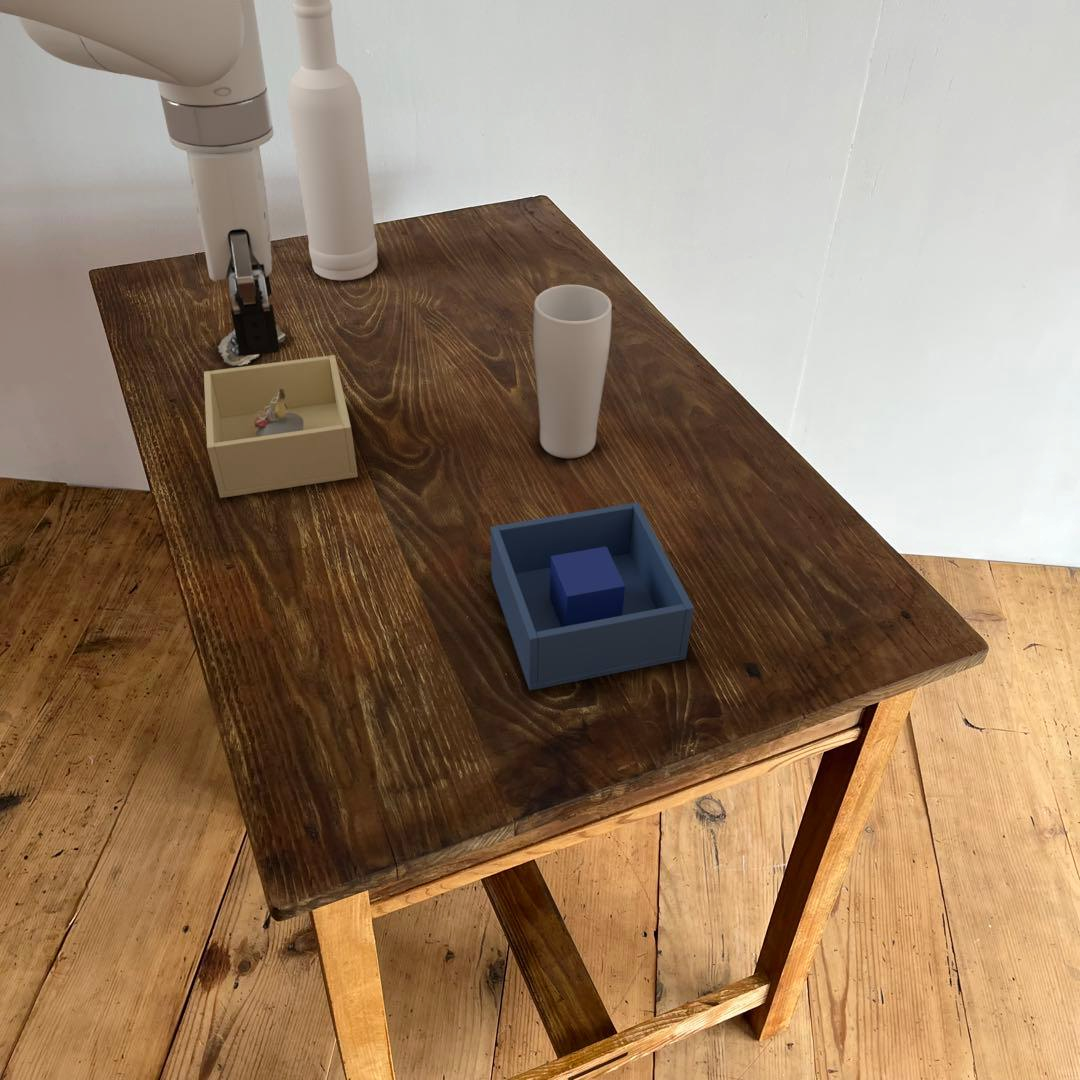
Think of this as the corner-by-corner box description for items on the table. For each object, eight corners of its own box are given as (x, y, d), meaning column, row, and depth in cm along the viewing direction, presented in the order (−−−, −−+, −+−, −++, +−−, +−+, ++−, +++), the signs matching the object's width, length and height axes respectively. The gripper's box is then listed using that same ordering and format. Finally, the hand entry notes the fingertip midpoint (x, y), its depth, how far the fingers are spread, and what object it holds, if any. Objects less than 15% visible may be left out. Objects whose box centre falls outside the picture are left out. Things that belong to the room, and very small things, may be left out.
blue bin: (529, 691, 74) (529, 639, 70) (491, 578, 83) (490, 526, 79) (685, 659, 76) (694, 607, 73) (633, 552, 85) (638, 501, 81)
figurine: (305, 460, 93) (295, 406, 89) (255, 462, 93) (243, 408, 89) (308, 426, 97) (299, 373, 93) (261, 428, 96) (250, 375, 92)
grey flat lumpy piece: (296, 332, 111) (293, 317, 109) (263, 371, 105) (260, 355, 104) (239, 324, 112) (236, 308, 111) (204, 361, 106) (200, 346, 105)
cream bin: (220, 498, 90) (206, 447, 86) (215, 420, 98) (203, 371, 95) (358, 477, 92) (351, 427, 88) (341, 403, 101) (335, 354, 97)
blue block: (565, 638, 77) (567, 596, 74) (549, 597, 80) (550, 555, 77) (621, 627, 78) (625, 585, 75) (603, 587, 81) (606, 545, 78)
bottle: (327, 288, 118) (287, 6, 98) (301, 260, 123) (258, -13, 103) (389, 271, 121) (363, -5, 101) (362, 245, 126) (332, -23, 106)
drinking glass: (582, 416, 100) (589, 277, 90) (616, 454, 95) (627, 312, 85) (520, 434, 97) (520, 293, 87) (551, 474, 93) (555, 330, 83)
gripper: (166, 82, 80) (208, 281, 91) (164, 163, 68) (213, 382, 79) (263, 76, 82) (292, 273, 93) (279, 154, 69) (311, 370, 80)
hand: (256, 323), depth 86 cm, fingers open, 9 cm apart
